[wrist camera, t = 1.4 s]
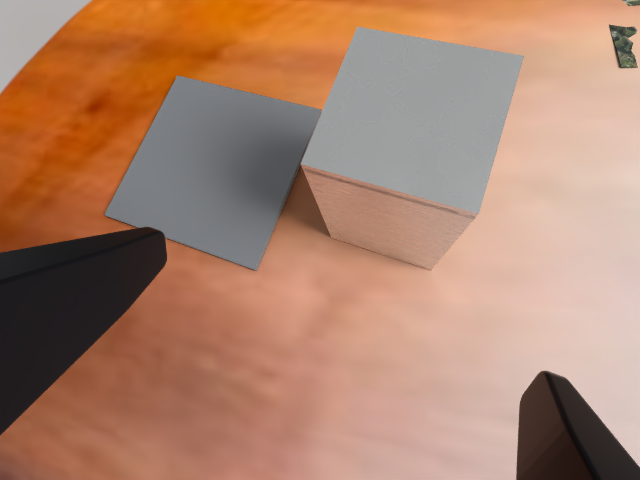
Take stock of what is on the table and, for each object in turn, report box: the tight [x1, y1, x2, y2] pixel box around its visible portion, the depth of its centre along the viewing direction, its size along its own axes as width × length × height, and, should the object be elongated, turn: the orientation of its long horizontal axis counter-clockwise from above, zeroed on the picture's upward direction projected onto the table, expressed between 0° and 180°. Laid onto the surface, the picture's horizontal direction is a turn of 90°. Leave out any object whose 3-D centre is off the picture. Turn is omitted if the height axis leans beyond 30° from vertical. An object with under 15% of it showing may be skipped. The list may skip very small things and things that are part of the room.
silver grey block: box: [301, 27, 524, 270], centre depth 18 cm, size 6×6×10 cm
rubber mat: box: [104, 75, 322, 271], centre depth 25 cm, size 12×12×1 cm
